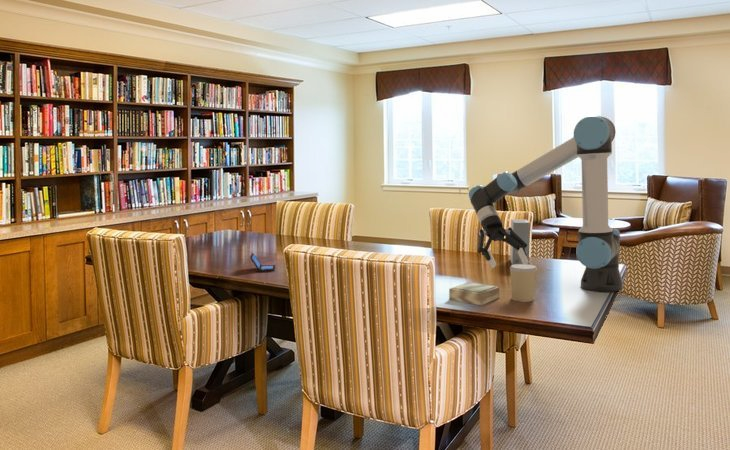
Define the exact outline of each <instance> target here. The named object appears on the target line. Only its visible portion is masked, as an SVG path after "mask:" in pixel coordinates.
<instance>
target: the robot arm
mask: <svg viewBox="0 0 730 450" xmlns="http://www.w3.org/2000/svg"><path fill="white" fill-rule="evenodd" d="M615 137H616V126H615V125H614V123H613V122H612V120H610V119H609V118H607V117H604V116H600V115H594V114H593V115H588V116H585V117H584V118H582V119H580V120H579V121H578V122H577V123H576V125H575V127H574V130H573V137H572V138H569V139H567V140H566V141H564V142H563V143H561V144H560V145H558V146H556V147H555V148H553V149H551V150H549V151H548V152H545V153H544V154H542V155H541V156H539V157H537V158H536V159H534V160H532V161H531V162H529V163H527V164H526V165H524V166H522V167H520V168H518V169H517V170H515V171H513V172H512V173H511V172H509V171H504V172H502V173H501V174H499V175H497V177H495V178H494V179H492V181H490V182H489V183H488V184H486V185H485V186H484V185H483V184H481V185H479V184H477V185H476V186H473V187H472V188H470V189H469V192H468V197H469V200H470V205H472V208H473V210H474V212H475V214H476V216H477V218H478V221H479V223H480V225H481V229H480V230H479V231H478V233H477V235H478V243H477V245H478V246H477V253H478V254H480V253H481V255H482V256H484V258H485V260H486V261H488V262H489V266H490V268H491V270H494V269H495V268H496V266H497V262H496V260H495V258H494V255H493V254H492V251H491V250H490V249H489V248H490V246H491V244H492V241H494V242H497V241H498V242H501V241H502V242H504V243H506V244H507V245H510V247H511V246H512V247H514V248H515V249H517V250H518V254H519V257H520V259H521V261H522V263H523V264H528V262H529V261H530V260H529V261H528V259H527V257H526V256H527V254H526V252H525V250H524V249H525V248H526V247H527V244H526V243H525V242H524V241H523V240H522V239H521V238H520V237H519V236H518V235H517V234H516V233H514V232H513V230H512V228H511V226H510V227H508V228H507V229H506V228H504V226H503V222H502V220H501V218H500V216H499V214H498V213H499V212H497V209H496V208H495V205H494V204H495V203H497V202H498V201H499V200H501V199H502V198H504V196H508V195H514V194H517V193H519V192H520V191H521V190H523V189H525V188H526V187H528V186H529V185H531V184H533V183H535V182H537V181H538V180H540V179H542V178H544V177H545V176H547V175H549V174H551V173H552V172H554V171H556V170H558V169H560V168H562V167H563V166H566V165H567V164H569V163H571V162H572V161H574V160H576V159H578V158H580V160H581V195H582V196H581V197H582V198H581V199H582V200H581V201H582V203H581V204H582V207H581V208H582V226H581V227H580V228H579V229H578V243H577V245H576V251H575V252H576V253H575V254H576V258H577V260H578V261H579V262H580V264H581V265H583V266H585V268H584V271H583V274H582V277H581V278H580V279H581V280H580V287H581V288H582V289H585V290H588V291H591V292H592V291H593V292H594V291H595V292H603V293H604V292H605V293H610V292H619V291H623V290H624V282H623V279H622V275H621V272H620V269H619V267H620V266H619V265H620V242H621V241H620V240H621V232H620V230H619V229H616V228H611V226H609V197H608V196H609V194H608V189H609V185H608V179H609V178H608V158H609V157H610V156H611V155H612V154H613V153H612V151H613V148H612V144H613V141H614V139H615ZM485 237H488V239H487V241H486V244H485V246H484V242H485ZM519 247H520V248H519ZM529 263H530V262H529Z"/></svg>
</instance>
